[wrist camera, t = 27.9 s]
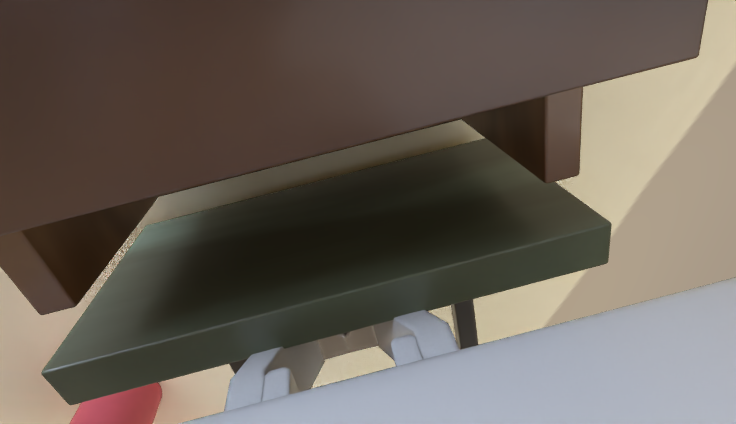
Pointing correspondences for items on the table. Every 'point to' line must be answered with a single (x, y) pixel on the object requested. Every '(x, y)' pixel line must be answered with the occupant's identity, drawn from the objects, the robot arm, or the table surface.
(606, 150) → the table surface
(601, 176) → the table surface
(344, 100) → the cabinet
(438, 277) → the drawer
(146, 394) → the red short cylinder
